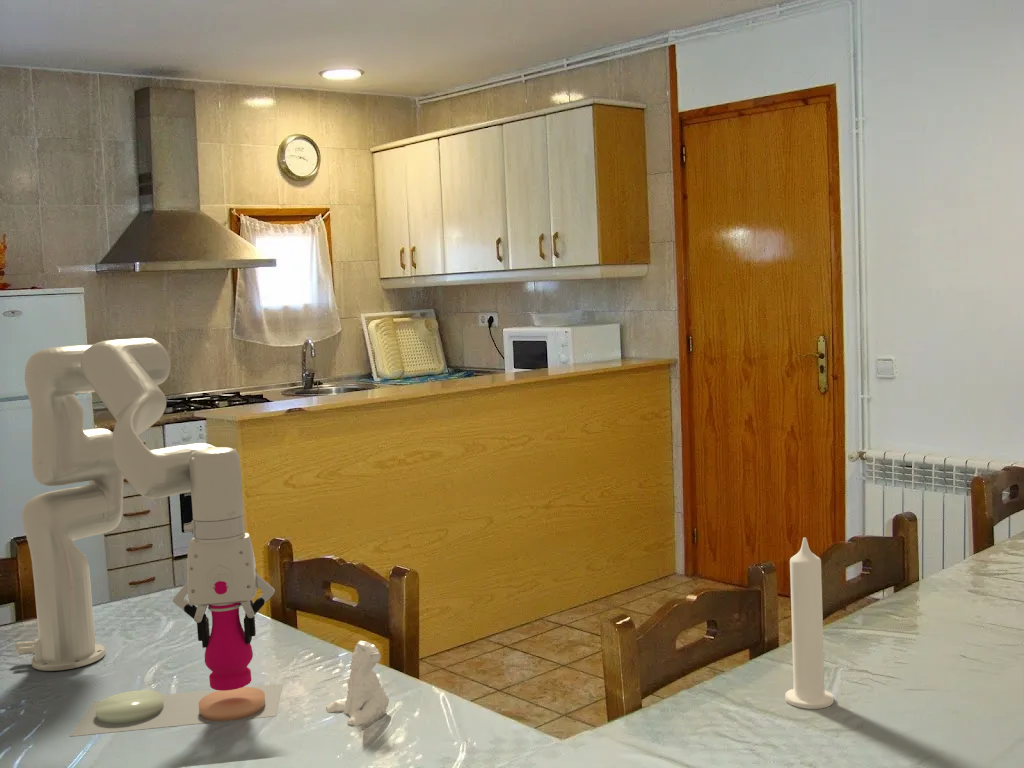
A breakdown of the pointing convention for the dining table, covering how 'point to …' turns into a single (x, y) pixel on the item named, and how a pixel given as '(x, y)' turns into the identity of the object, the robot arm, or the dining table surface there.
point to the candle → (807, 632)
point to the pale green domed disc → (129, 707)
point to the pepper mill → (227, 646)
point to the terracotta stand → (232, 704)
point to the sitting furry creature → (363, 688)
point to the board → (174, 713)
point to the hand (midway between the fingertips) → (227, 641)
